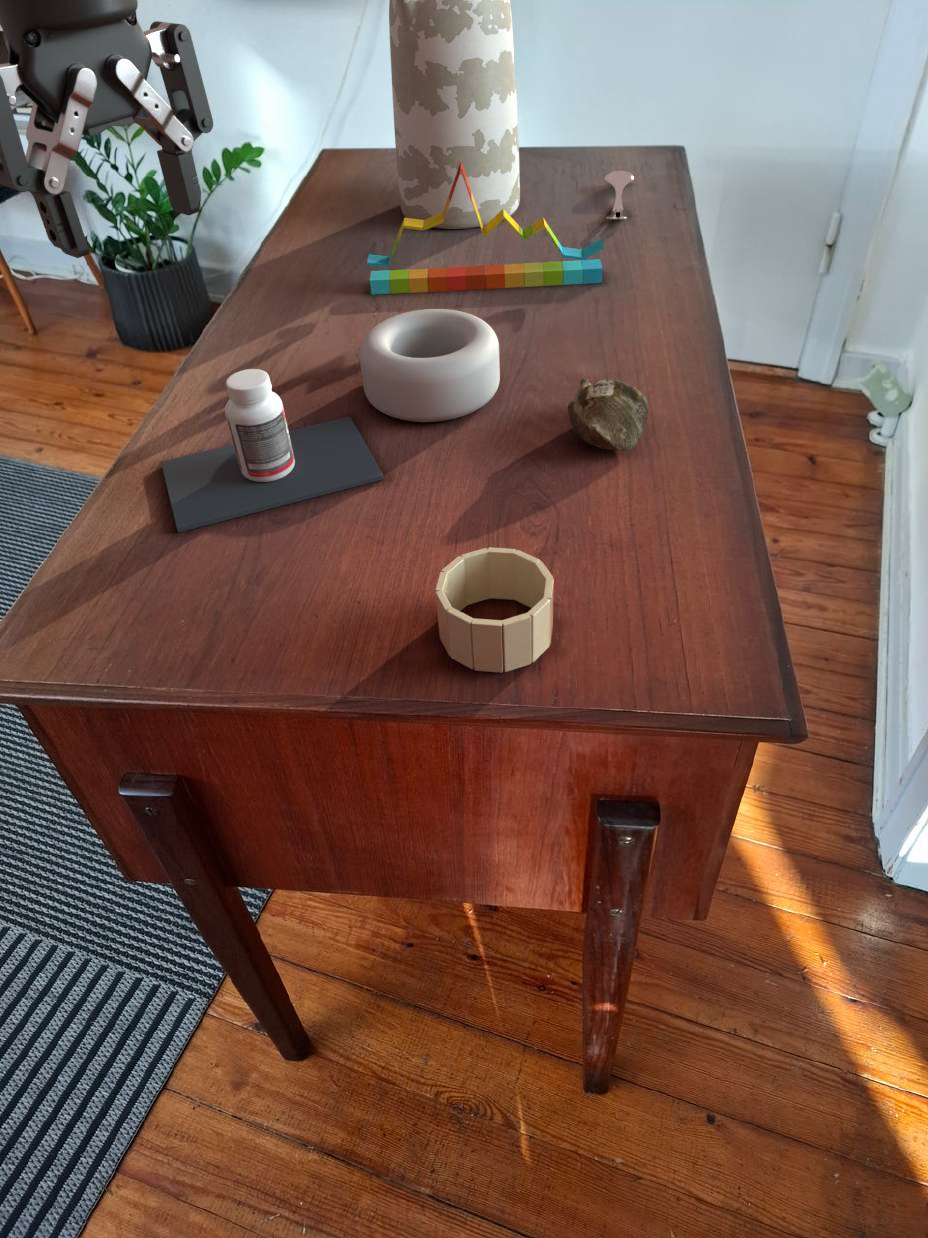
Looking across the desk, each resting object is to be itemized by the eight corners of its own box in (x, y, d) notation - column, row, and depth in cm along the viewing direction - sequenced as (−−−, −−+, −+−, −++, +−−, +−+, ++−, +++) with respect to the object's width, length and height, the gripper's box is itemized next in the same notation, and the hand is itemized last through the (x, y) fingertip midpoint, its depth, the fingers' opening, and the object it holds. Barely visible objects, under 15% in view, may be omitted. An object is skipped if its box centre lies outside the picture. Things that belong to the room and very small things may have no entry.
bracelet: (464, 685, 67) (460, 638, 63) (426, 612, 73) (420, 565, 70) (570, 651, 69) (572, 604, 65) (524, 582, 75) (524, 536, 72)
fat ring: (438, 345, 107) (434, 291, 102) (528, 388, 98) (528, 331, 94) (338, 393, 100) (328, 337, 95) (425, 443, 91) (419, 384, 87)
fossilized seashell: (571, 381, 94) (547, 446, 88) (604, 339, 88) (582, 404, 83) (630, 418, 95) (611, 483, 90) (667, 378, 90) (648, 445, 84)
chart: (599, 272, 119) (605, 150, 109) (601, 282, 117) (608, 159, 107) (373, 284, 120) (358, 165, 110) (371, 294, 118) (355, 173, 108)
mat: (178, 533, 83) (176, 527, 82) (162, 466, 91) (160, 461, 90) (383, 479, 87) (383, 474, 87) (350, 420, 95) (350, 415, 95)
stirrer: (635, 202, 126) (602, 202, 127) (633, 228, 128) (600, 228, 129) (635, 165, 141) (605, 165, 142) (633, 189, 143) (603, 189, 144)
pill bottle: (307, 463, 89) (288, 374, 82) (268, 490, 86) (245, 399, 79) (269, 447, 91) (248, 359, 84) (230, 472, 88) (205, 383, 81)
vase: (454, 180, 149) (438, -115, 123) (544, 201, 140) (547, -113, 113) (369, 218, 138) (330, -96, 112) (459, 243, 129) (440, -93, 103)
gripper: (113, -103, 52) (185, 191, 63) (-129, -73, 44) (1, 256, 55) (194, -102, 48) (255, 210, 59) (-54, -69, 41) (69, 283, 52)
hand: (133, 232), depth 57 cm, fingers open, 8 cm apart
